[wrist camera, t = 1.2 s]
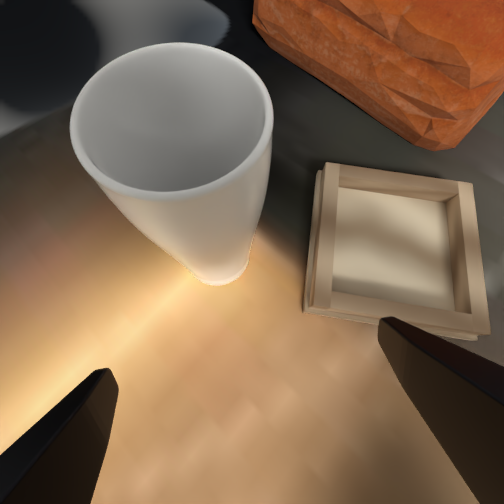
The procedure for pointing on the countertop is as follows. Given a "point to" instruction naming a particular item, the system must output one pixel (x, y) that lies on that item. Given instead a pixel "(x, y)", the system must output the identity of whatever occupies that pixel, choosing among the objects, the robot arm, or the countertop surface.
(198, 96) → the white tumbler
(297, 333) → the countertop surface
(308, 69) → the bread
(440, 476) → the countertop surface
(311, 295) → the square tray
